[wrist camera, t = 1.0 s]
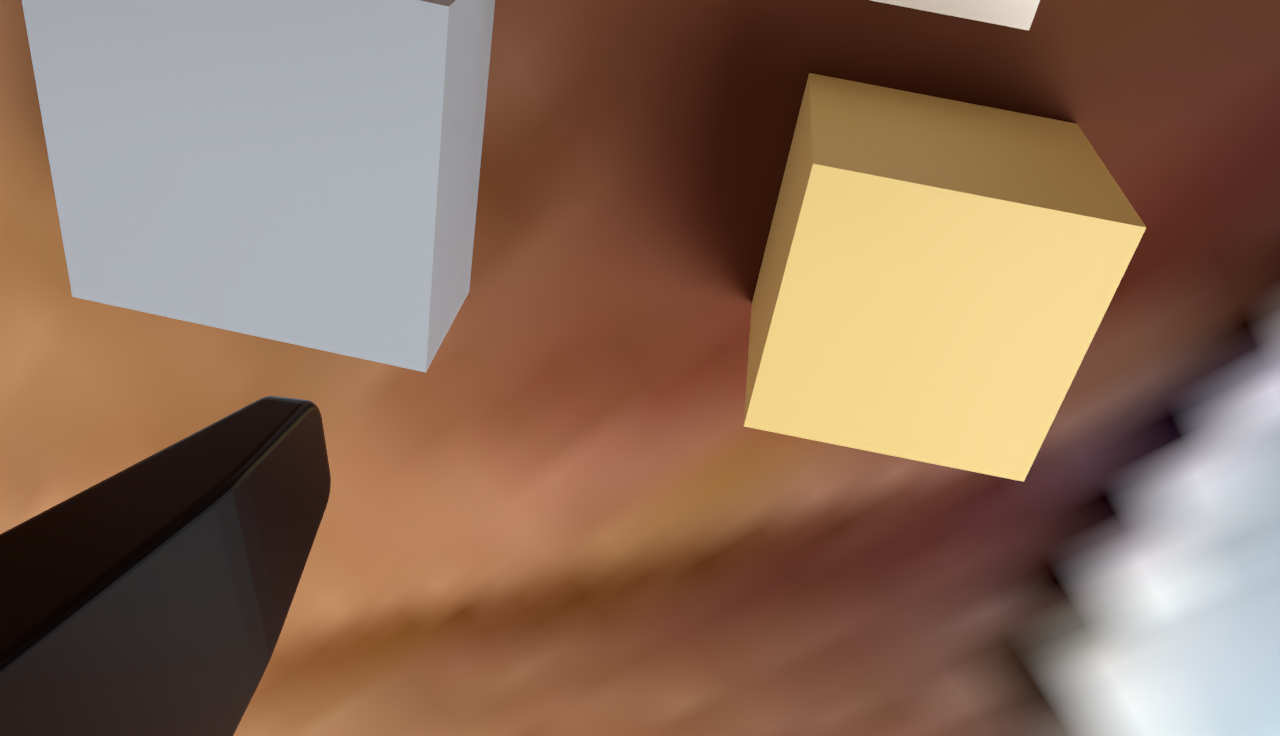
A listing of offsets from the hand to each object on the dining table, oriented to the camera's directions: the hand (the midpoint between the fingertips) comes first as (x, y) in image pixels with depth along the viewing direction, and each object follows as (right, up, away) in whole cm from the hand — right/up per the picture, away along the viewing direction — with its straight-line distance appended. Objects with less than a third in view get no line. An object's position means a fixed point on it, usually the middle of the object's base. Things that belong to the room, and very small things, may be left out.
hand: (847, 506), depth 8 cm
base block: (-8, +7, +12) cm, 16 cm away
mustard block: (+4, +4, +12) cm, 13 cm away
